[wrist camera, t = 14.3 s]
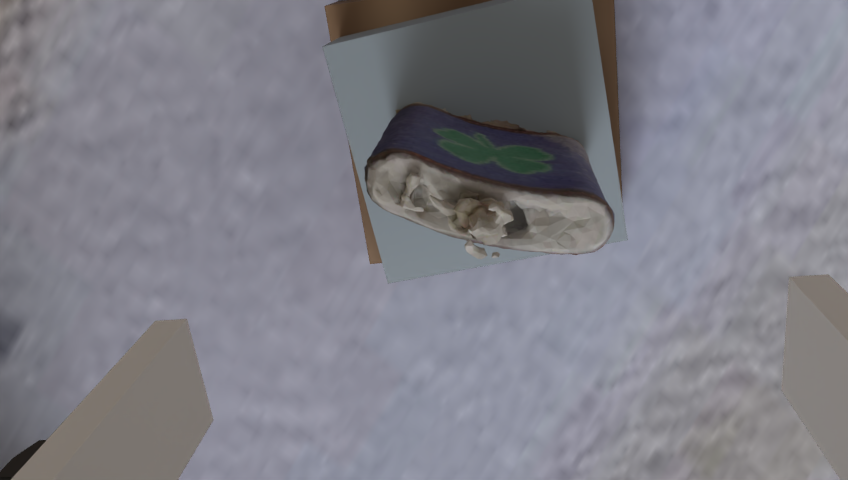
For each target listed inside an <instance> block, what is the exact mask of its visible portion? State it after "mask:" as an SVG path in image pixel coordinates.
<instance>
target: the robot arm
mask: <svg viewBox="0 0 848 480" xmlns="http://www.w3.org/2000/svg"><path fill="white" fill-rule="evenodd" d="M782 392H783V394H784V395H785V397H786V398H787V400H788V401H789V403H790V404H791V406H792V407H793V409H794V410H795V412H796V413H797V415H798V416H799V418H800V419H801V421H802V422H803V424H804V425H805V427H806V428H807V430H808V431H809V433H810V434H811V436H812V437H813V439H814V440H815V442H816V443H817V445H818V447H819V448H820V450H821V451H822V453H823V454H824V456H825V457H826V459H827V460H828V462H829V463H830V465H831V466H832V468H833V469H834V471H835V472H836V474H837V475H838V477H839V478H840V480H848V293H847V292H846V291H845V290H844V289H843V288H842V287H841V286H840V285H839V284H838V283H837V282H836V281H835V280H834V279H833V278H831V277H830V276H829V275H828V274H826V275H812V276H797V277H789V286H788V301H787V316H786V331H785V346H784V362H783V377H782ZM212 422H213V416H212V413H211V409H210V405H209V401H208V397H207V394H206V390H205V386H204V382H203V378H202V375H201V371H200V367H199V363H198V359H197V356H196V352H195V348H194V344H193V340H192V336H191V333H190V329H189V325H188V321H187V319H178V320H164V321H155V322H154V323H153V324H152V325H151V326H150V327H149V329H148V330H147V331H146V332H145V333H144V334H143V335H142V336H141V337H140V338H139V339H138V341H137V342H136V343H135V344H134V345H133V346H132V347H131V348H130V349H129V350H128V352H127V353H126V354H125V355H124V356H123V357H122V358H121V359H120V360H119V361H118V363H117V364H116V365H115V366H114V367H113V368H112V369H111V370H110V371H109V372H108V374H107V375H106V376H105V377H104V378H103V379H102V380H101V381H100V382H99V383H98V384H97V386H96V387H95V388H94V389H93V390H92V391H91V392H90V393H89V394H88V395H87V397H86V398H85V399H84V400H83V401H82V402H81V403H80V404H79V405H78V406H77V408H76V409H75V410H74V411H73V412H72V413H71V414H70V415H69V416H68V417H67V418H66V420H65V421H64V422H63V423H62V424H61V425H60V426H59V427H58V428H57V429H56V431H55V432H54V433H53V434H52V435H51V436H50V437H49V438H48V439H47V440H39V441H38V442H36V443H35V444H33V445H32V446H30V447H29V448H27V449H26V450H24V451H23V452H21V453H20V454H18V455H17V456H15V457H14V458H13V459H12V460H11V461H10V462H9V463H8V464H7V465H6V466H5V467H4V468H3V469H2V470H1V471H0V480H178V479H179V477H180V475H181V474H182V472H183V470H184V469H185V467H186V465H187V464H188V462H189V460H190V459H191V457H192V455H193V454H194V452H195V450H196V448H197V447H198V445H199V443H200V442H201V440H202V438H203V437H204V435H205V433H206V432H207V430H208V428H209V427H210V425H211V423H212Z"/></svg>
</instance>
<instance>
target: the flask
mask: <svg viewBox="0 0 848 480" xmlns="http://www.w3.org/2000/svg"><path fill="white" fill-rule="evenodd" d="M395 111H396V115H395V116H394V117H393V118H392V119H391V121H390V123H389V124H388V126H387V128H386V130H385V131H384V132H383V135H382V137H381V140H380V141H379V142H378V144H377V146H376V147H375V149H374V150H373V152H372V154H371V156H370V157H369V158H368V159H367V165H366V166H365V167H364V170H365V182H366V188H367V193H368V195H369V196H370V198H371V200H372V201H373V202H374V203H376V204H377V205H378V206H379V207H381V208H382V209H384V210H385V211H387V212H390V213H392V214H394V215H396V216H399V217H402V218H404V219H406V220H408V221H411V222H413V223H416V224H418V225H421V226H424V227H426V228H429V229H431V230H434V231H436V232H438V233H442V234H445V235H447V236H450V237H453V238H458V239H463V240H466V241H467V243H466V244H465V250H466V251H467V252H468V253H469V254H470V255H472V256H474V257H476V258H477V259H483V258H485V257H486V256H487V253H486V251H485V249H484V248H481V247H478V246H476V245H474V244H473V243H479V244H483V245H485V246H486V245H487V246H492V247H498V248H502V249H512V250H519V251H529V252H543V253H548V254H573V255H578V254H584V253H592V252H595V251H597V250H598V249H600V248H602V247H603V246H604V245H605V243H606V242H607V241H608V240H609V238H610V236H611V234H612V232H613V229H614V222H615V214H614V212H613V210H612V208H611V207H610V206H609V204H608V203H607V201H606V199H605V197H604V195H603V193H602V191H601V188H600V186H599V184H598V182H597V178H596V177H595V174H594V172H593V170H592V167H591V164H590V162H589V158H588V155H587V153H586V151H585V149H584V147H583V146H582V144H581V143H580V142H579V141H577V140H574V139H573V138H570V137H567V136H565V135H561V134H559V133H557V132H555V131H550V130H547V131H546V133H543V132H540V133H538V132H535V131H531V130H526V129H525V128H521V127H519V125H517V124H511V123H509V122H508V121H507V120H506V121H499V120H497V119H496V120H493V121H492V120H491V121H490V122H489V121H486V122H479V121H476V120H472V117H471V115H470V114H469V115H467V116H466V115H464V116H456V115H452V114H451V113H449V112H448V111H446V109H445V108H444V109H441V108H437V107H434V106H432V105H427V104H423V103H421V102H415V103H412V104H409V105H407V106H405V107H404V108H402V109H400V110H395ZM499 256H500V254H499V252H493V253H492V258H497V257H499Z"/></svg>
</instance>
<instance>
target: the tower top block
mask: <svg viewBox="0 0 848 480" xmlns="http://www.w3.org/2000/svg"><path fill="white" fill-rule="evenodd" d="M323 51H324V54H325V58H326V61H327V65H328V69H329V72H330V76H331V79H332V83H333V87H334V90H335V94H336V98H337V101H338V105H339V108H340V112H341V116H342V119H343V123H344V126H345V130H346V134H347V137H348V141H349V144H350V148H351V152H352V155H353V159H354V163H355V166H356V170H357V173H358V177H359V181H360V184H361V188H362V191H363V195H364V199H365V202H366V206H367V209H368V213H369V217H370V220H371V224H372V228H373V231H374V235H375V238H376V242H377V246H378V249H379V253H380V256H381V260H382V264H383V267H384V271H385V274H386V278H387V282H388V283H394V282H399V281H405V280H410V279H416V278H421V277H427V276H432V275H438V274H443V273H449V272H454V271H460V270H465V269H471V268H476V267H482V266H487V265H493V264H498V263H504V262H509V261H515V260H520V259H526V258H531V257H537V256H543V255H548V253H543V252H529V251H519V250H512V249H502V248H498V247H492V246H487V245H486V246H485V245H483V244H479V243H473V244H474V245H476V246H478V247H481V248H484V249H485V251H486V253H487V256H486V257H485V258H483V259H477V258H476V257H474V256H472V255H470V254H469V253H468V252H467V251H466V250H465V244H466V243H467V241H466V240H463V239H458V238H453V237H450V236H447V235H445V234H442V233H438V232H436V231H434V230H431V229H429V228H426V227H424V226H421V225H418V224H416V223H413V222H411V221H408V220H406V219H404V218H402V217H399V216H396V215H394V214H392V213H390V212H387V211H385V210H384V209H382V208H381V207H379V206H378V205H377V204H376V203H374V202H373V201H372V200H371V198H370V196H369V195H368V193H367V188H366V182H365V170H364V167H365V166H366V165H367V159H368V158H369V157H370V156H371V154H372V152H373V150H374V149H375V147H376V146H377V144H378V142H379V141H380V140H381V137H382V135H383V132H384V131H385V130H386V128H387V126H388V124H389V123H390V121H391V119H392V118H393V117H394V116H395V115H396V111H395V110H400V109H402V108H404V107H405V106H407V105H409V104H412V103H415V102H421V103H423V104H427V105H432V106H434V107H437V108H441V109H444V108H445V109H446V111H448V112H449V113H451V114H452V115H456V116H464V115H466V116H467V115H469V114H470V115H471V117H472V120H476V121H479V122H486V121H489V122H490V121H491V120H492V121H493V120H496V119H497V120H499V121H506V120H507V121H508V122H509V123H511V124H517V125H519V127H521V128H525V129H526V130H531V131H535V132H538V133H540V132H543V133H546V131H547V130H550V131H555V132H557V133H559V134H561V135H565V136H567V137H570V138H573V139H574V140H577V141H579V142H580V143H581V144H582V146H583V147H584V149H585V151H586V153H587V155H588V158H589V162H590V164H591V167H592V170H593V172H594V174H595V177H596V178H597V182H598V184H599V186H600V188H601V191H602V193H603V195H604V197H605V199H606V201H607V203H608V204H609V206H610V207H611V208H612V210H613V212H614V214H615V222H614V229H613V232H612V234H611V236H610V238H609V240H608V241H607V242H606V243H605V244H609V243H614V242H620V241H625V240H628V238H627V231H626V225H625V218H624V211H623V205H622V198H621V191H620V184H619V178H618V171H617V164H616V157H615V151H614V144H613V137H612V130H611V124H610V117H609V110H608V103H607V97H606V90H605V83H604V77H603V70H602V63H601V56H600V50H599V43H598V36H597V29H596V23H595V16H594V9H593V2H592V0H492V1H488V2H483V3H479V4H475V5H471V6H467V7H463V8H459V9H454V10H450V11H446V12H442V13H438V14H434V15H430V16H425V17H421V18H417V19H413V20H409V21H405V22H401V23H396V24H392V25H388V26H384V27H380V28H376V29H372V30H367V31H363V32H359V33H355V34H351V35H347V36H343V37H339V38H337V39H336V40H334V41H332V42H330V43H328V44H327V45H325V46H323ZM493 252H499V254H500V256H499V257H497V258H492V253H493Z"/></svg>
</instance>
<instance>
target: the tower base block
mask: <svg viewBox="0 0 848 480" xmlns="http://www.w3.org/2000/svg"><path fill="white" fill-rule="evenodd" d="M488 1H492V0H346V1H339V2H335V3H332V4H329V5H326V6H325V11H326V17H327V22H328V28H329V34H330V40H331V42H332V41H334V40H336V39H337V38H339V37H343V36H347V35H351V34H355V33H359V32H363V31H367V30H372V29H376V28H380V27H384V26H388V25H392V24H396V23H401V22H405V21H409V20H413V19H417V18H421V17H425V16H430V15H434V14H438V13H442V12H446V11H450V10H454V9H459V8H463V7H467V6H471V5H475V4H479V3H483V2H488ZM592 2H593V9H594V16H595V23H596V29H597V36H598V43H599V50H600V56H601V63H602V70H603V77H604V83H605V90H606V97H607V103H608V110H609V117H610V124H611V130H612V137H613V144H614V151H615V157H616V164H617V171H618V178H619V184H620V191H621V198H622V183H621V158H620V134H619V110H618V85H617V61H616V37H615V12H614V0H592ZM348 142H349V141H348ZM349 147H350V144H349ZM350 153H351V159H352V164H353V170H354V176H355V181H356V187H357V193H358V198H359V204H360V210H361V215H362V221H363V227H364V232H365V238H366V244H367V249H368V255H369V261H370V264H375V263H382V260H381V256H380V253H379V249H378V246H377V242H376V238H375V235H374V231H373V228H372V224H371V220H370V217H369V213H368V209H367V206H366V202H365V199H364V195H363V191H362V188H361V184H360V181H359V177H358V173H357V170H356V166H355V163H354V159H353V155H352V152H351V148H350Z"/></svg>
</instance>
